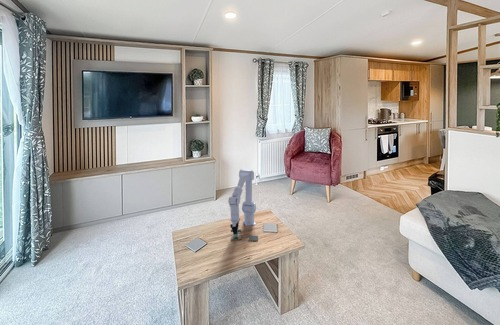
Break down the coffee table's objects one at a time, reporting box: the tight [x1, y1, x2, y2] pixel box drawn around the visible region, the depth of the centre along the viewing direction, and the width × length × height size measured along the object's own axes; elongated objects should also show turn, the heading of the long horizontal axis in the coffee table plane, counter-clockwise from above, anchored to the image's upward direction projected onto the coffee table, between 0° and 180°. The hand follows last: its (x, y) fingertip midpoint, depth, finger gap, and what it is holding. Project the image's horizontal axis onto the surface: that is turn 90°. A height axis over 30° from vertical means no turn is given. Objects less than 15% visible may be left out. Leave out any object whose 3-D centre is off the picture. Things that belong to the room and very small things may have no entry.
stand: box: [230, 228, 242, 241], centre depth 182 cm, size 5×7×7 cm
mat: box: [248, 235, 259, 242], centre depth 182 cm, size 6×6×1 cm
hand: (235, 231), depth 182 cm, fingers open, 7 cm apart
